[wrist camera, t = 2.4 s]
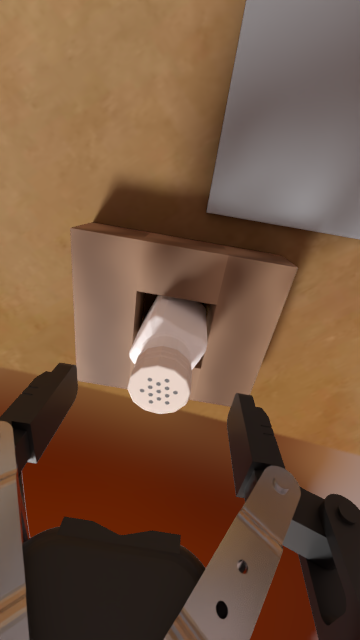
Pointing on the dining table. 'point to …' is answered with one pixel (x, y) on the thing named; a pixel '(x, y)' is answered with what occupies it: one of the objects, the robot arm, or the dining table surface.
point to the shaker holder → (179, 282)
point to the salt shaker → (167, 354)
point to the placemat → (293, 118)
